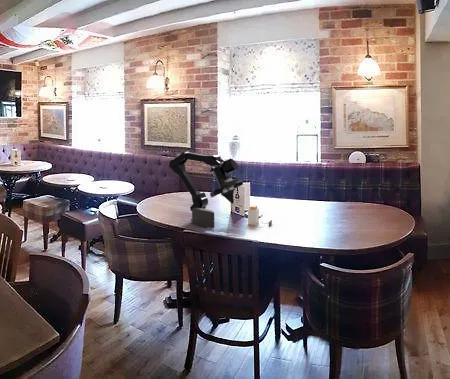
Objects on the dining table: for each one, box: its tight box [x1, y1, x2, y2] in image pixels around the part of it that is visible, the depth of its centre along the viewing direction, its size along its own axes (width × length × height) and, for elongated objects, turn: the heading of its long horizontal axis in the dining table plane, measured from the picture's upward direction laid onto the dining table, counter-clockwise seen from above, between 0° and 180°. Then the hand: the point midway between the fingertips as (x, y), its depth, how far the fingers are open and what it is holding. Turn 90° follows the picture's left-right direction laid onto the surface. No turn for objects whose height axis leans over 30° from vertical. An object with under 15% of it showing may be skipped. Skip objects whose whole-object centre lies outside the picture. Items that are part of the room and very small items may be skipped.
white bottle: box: [247, 205, 260, 226], centre depth 214 cm, size 4×4×10 cm
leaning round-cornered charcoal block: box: [191, 208, 215, 229], centre depth 215 cm, size 16×5×9 cm, turn 47°
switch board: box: [247, 219, 273, 228], centre depth 215 cm, size 16×11×4 cm
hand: (232, 203), depth 217 cm, fingers closed
